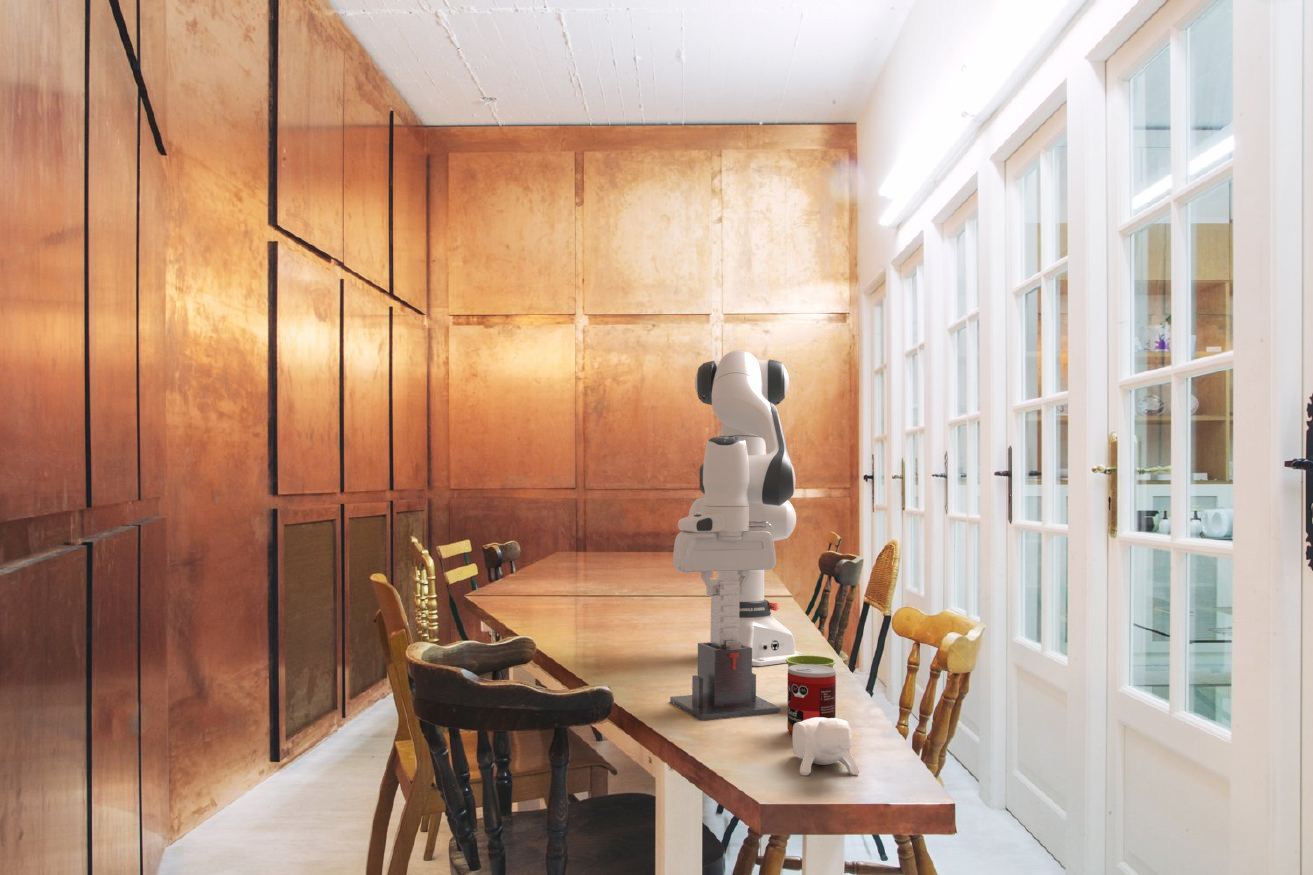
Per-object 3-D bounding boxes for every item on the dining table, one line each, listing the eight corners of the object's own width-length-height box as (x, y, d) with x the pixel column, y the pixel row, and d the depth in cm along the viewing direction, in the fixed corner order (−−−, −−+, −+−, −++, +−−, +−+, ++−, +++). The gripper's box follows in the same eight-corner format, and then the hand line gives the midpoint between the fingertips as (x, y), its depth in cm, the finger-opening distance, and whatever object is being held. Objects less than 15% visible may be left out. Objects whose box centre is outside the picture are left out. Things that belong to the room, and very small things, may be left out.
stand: (744, 695, 176) (745, 629, 177) (780, 712, 163) (780, 641, 164) (670, 701, 171) (671, 633, 171) (700, 720, 158) (701, 646, 158)
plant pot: (780, 708, 167) (780, 661, 167) (791, 697, 175) (791, 653, 176) (830, 714, 163) (830, 666, 164) (839, 702, 172) (839, 657, 172)
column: (729, 684, 170) (730, 578, 171) (740, 689, 166) (741, 581, 167) (708, 685, 168) (710, 579, 169) (719, 691, 164) (721, 582, 165)
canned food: (784, 727, 154) (785, 663, 154) (831, 728, 153) (831, 664, 154) (790, 740, 146) (790, 672, 147) (839, 741, 146) (839, 673, 146)
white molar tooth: (788, 779, 136) (811, 771, 123) (784, 721, 140) (806, 708, 126) (843, 778, 137) (872, 771, 123) (838, 721, 140) (865, 707, 127)
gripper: (766, 520, 175) (765, 590, 175) (670, 520, 168) (669, 594, 167) (782, 521, 170) (781, 594, 169) (683, 522, 162) (682, 599, 161)
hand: (724, 594), depth 168 cm, fingers closed on column, 4 cm apart
